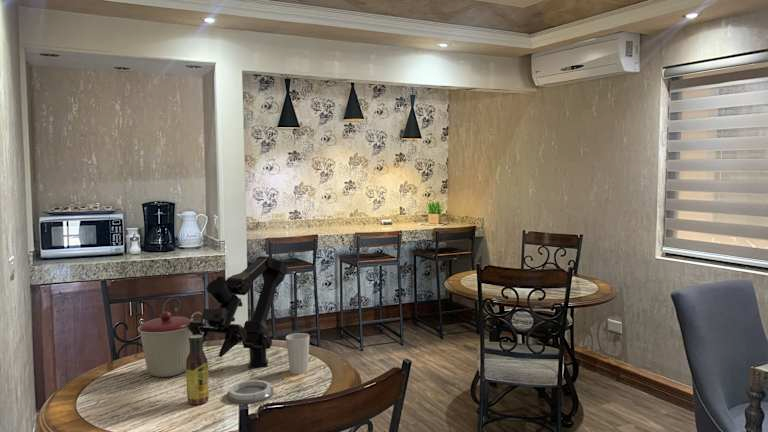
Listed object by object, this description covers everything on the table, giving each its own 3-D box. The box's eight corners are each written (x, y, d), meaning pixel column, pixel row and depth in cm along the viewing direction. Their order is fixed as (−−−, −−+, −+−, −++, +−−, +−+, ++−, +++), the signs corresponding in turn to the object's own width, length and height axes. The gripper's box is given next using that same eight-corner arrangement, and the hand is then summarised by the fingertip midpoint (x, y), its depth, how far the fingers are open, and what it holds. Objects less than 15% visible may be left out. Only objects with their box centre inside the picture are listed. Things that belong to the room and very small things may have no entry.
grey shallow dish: (229, 388, 188) (228, 381, 188) (274, 384, 190) (273, 377, 190) (224, 405, 174) (224, 398, 174) (273, 401, 176) (272, 394, 176)
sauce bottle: (202, 406, 174) (199, 340, 172) (183, 405, 175) (179, 339, 174) (213, 397, 181) (210, 333, 179) (194, 396, 182) (191, 333, 180)
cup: (288, 367, 206) (286, 333, 205) (311, 366, 207) (310, 332, 206) (286, 375, 198) (284, 340, 197) (310, 374, 199) (309, 339, 198)
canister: (128, 378, 199) (124, 316, 198) (167, 361, 216) (163, 304, 214) (171, 384, 193) (167, 320, 191) (207, 366, 209) (204, 307, 208)
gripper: (189, 296, 188) (168, 340, 179) (240, 299, 182) (221, 344, 173) (205, 314, 196) (186, 357, 187) (255, 318, 190) (237, 362, 181)
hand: (206, 355), depth 182 cm, fingers open, 9 cm apart
